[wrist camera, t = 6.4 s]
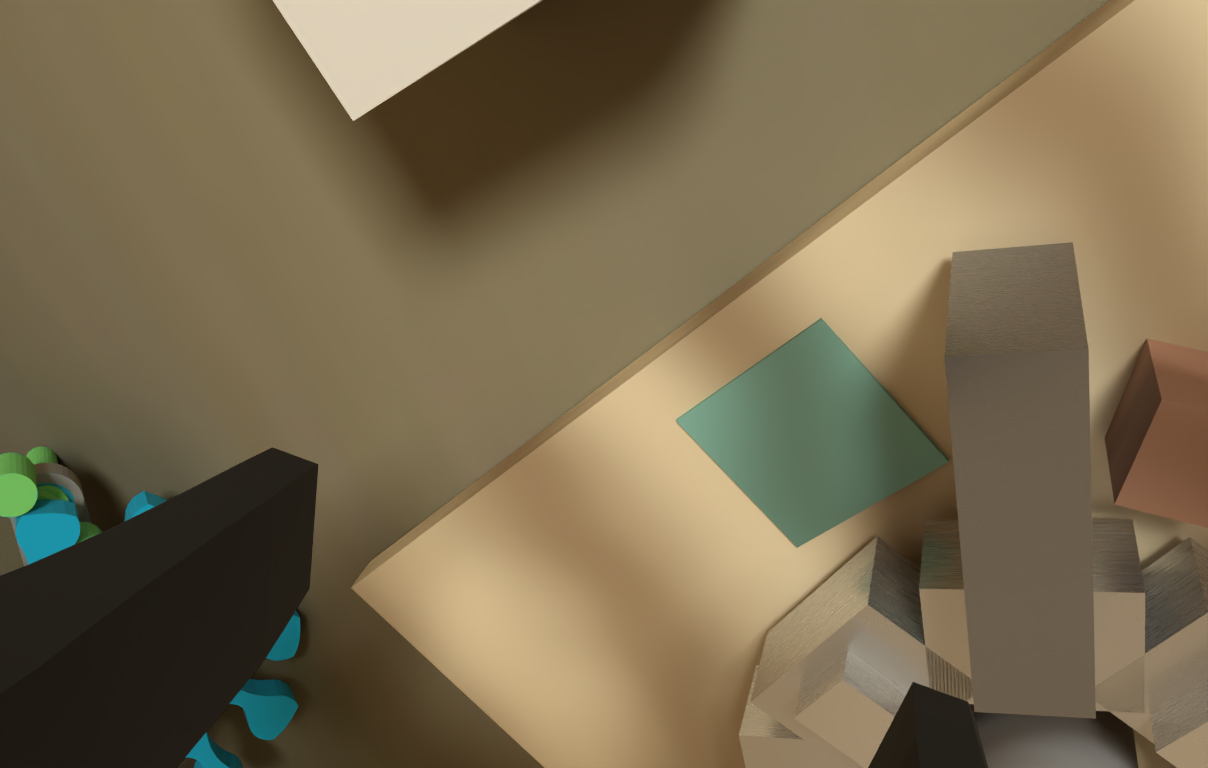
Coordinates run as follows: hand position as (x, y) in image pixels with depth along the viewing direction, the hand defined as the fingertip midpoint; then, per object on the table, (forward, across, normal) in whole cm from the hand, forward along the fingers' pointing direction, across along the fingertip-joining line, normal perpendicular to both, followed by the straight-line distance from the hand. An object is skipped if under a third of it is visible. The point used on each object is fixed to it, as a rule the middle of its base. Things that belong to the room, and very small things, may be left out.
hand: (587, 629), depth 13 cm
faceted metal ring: (+8, -7, +5) cm, 12 cm away
